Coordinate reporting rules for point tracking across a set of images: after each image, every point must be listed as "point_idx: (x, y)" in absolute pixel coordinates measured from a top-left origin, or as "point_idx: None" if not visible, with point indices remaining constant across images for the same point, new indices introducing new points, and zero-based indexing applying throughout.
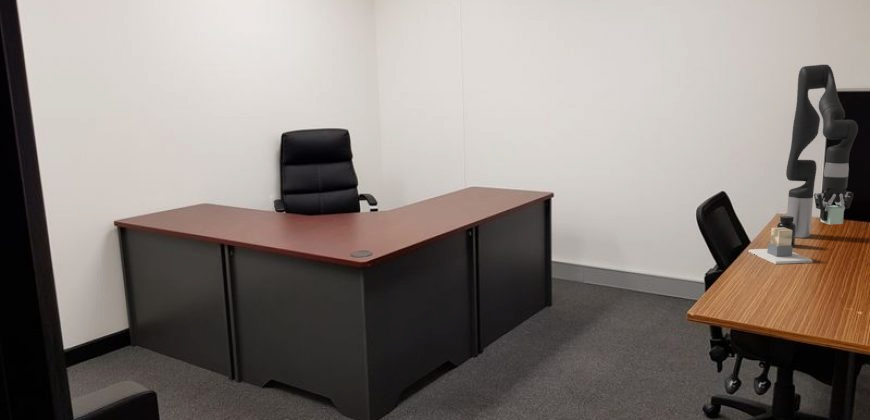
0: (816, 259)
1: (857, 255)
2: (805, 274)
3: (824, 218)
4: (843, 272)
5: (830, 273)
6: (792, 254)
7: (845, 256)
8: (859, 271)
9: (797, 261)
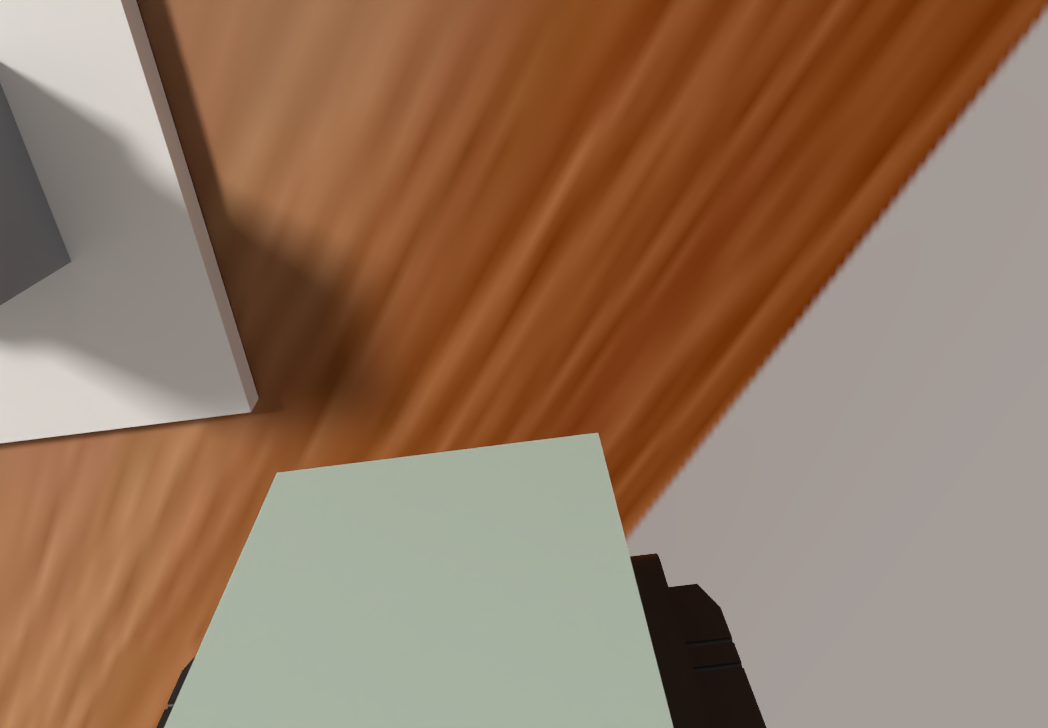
0: (353, 282)
1: (902, 121)
2: (81, 701)
3: None
4: None
5: None
6: (99, 179)
7: (738, 163)
8: None
9: (94, 427)
